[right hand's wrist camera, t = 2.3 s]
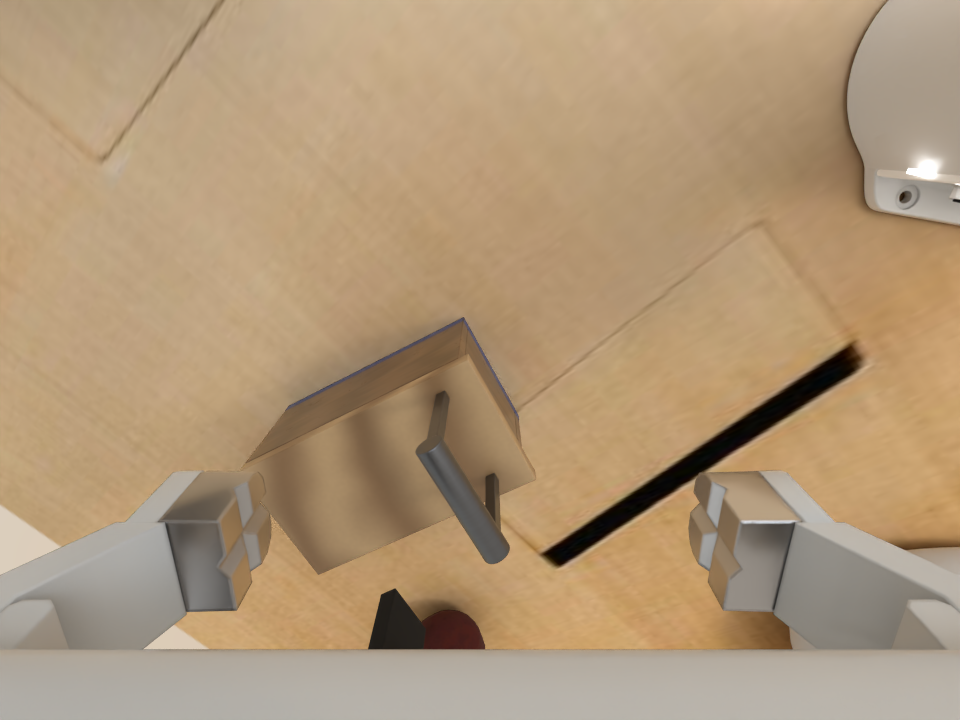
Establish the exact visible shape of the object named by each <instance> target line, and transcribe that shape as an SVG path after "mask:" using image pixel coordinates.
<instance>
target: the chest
mask: <svg viewBox="0 0 960 720" xmlns="http://www.w3.org/2000/svg"><path fill="white" fill-rule="evenodd" d="M466 354H469V356H470V357H471V359H472V361H473V363H474V364H475V366H476V368H477V370H478V371H479V373H480V375H481V377H482V378H483V380H484V382H485V384H486V386H487V387H488V389H489V391H490V393H491V394H492V396H493V398H494V400H495V401H496V403H497V405H498V407H499V408H500V410H501V412H502V414H503V415H504V417H505V419H506V421H507V422H508V424H509V426H510V428H511V430H512V431H513V433H514V435H515V437H516V438H517V440H518V442H519V444H520V445H521V436H520V428H519V416H518V414H517V412H516V410H515V408H514V407H513V405H512V403H511V401H510V399H509V398H508V396H507V394H506V392H505V390H504V389H503V387H502V385H501V383H500V381H499V380H498V378H497V376H496V374H495V372H494V371H493V369H492V367H491V365H490V364H489V362H488V360H487V358H486V356H485V355H484V353H483V351H482V349H481V347H480V346H479V344H478V342H477V340H476V338H475V337H474V335H473V333H472V331H471V329H470V328H469V326H468V324H467V322H466V321H465V319H464V317H463V318H461V319H459V320H457V321H455V322H453V323H451V324H449V325H447V326H445V327H444V328H442V329H440V330H438V331H436V332H434V333H432V334H430V335H428V336H426V337H424V338H422V339H420V340H418V341H416V342H414V343H412V344H410V345H408V346H406V347H404V348H402V349H400V350H398V351H396V352H394V353H392V354H390V355H388V356H386V357H384V358H382V359H380V360H378V361H376V362H375V363H373V364H371V365H369V366H367V367H365V368H363V369H361V370H359V371H357V372H355V373H353V374H351V375H349V376H347V377H345V378H343V379H341V380H339V381H337V382H335V383H333V384H331V385H329V386H327V387H325V388H323V389H321V390H319V391H317V392H315V393H313V394H311V395H309V396H308V397H306V398H304V399H302V400H300V401H298V402H296V403H294V404H292V405H290V406H288V408H287V409H286V410H285V412H284V414H283V415H282V416H281V418H280V419H279V420H278V421H277V423H276V424H275V425H274V427H273V428H272V429H271V431H270V432H269V433H268V434H267V436H266V437H265V438H264V440H263V441H262V442H261V444H260V445H259V446H258V447H257V449H256V450H255V451H254V453H253V454H252V455H251V457H250V458H249V459H248V460H247V462H246V463H248V462H250V461H252V460H254V459H256V458H258V457H260V456H262V455H264V454H266V453H268V452H270V451H272V450H274V449H276V448H278V447H280V446H282V445H284V444H286V443H288V442H290V441H292V440H294V439H296V438H298V437H300V436H302V435H304V434H306V433H308V432H310V431H312V430H315V429H317V428H319V427H321V426H323V425H325V424H327V423H329V422H331V421H333V420H335V419H337V418H339V417H341V416H343V415H345V414H347V413H349V412H351V411H353V410H355V409H357V408H359V407H361V406H363V405H365V404H367V403H369V402H371V401H373V400H375V399H377V398H379V397H381V396H383V395H385V394H387V393H389V392H392V391H394V390H396V389H398V388H400V387H402V386H404V385H406V384H408V383H410V382H412V381H414V380H416V379H418V378H420V377H422V376H424V375H426V374H428V373H430V372H432V371H434V370H436V369H438V368H440V367H442V366H444V365H446V364H448V363H450V362H452V361H454V360H456V359H458V358H460V357H462V356H464V355H466ZM521 447H522V445H521Z"/></svg>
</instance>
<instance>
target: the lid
mask: <svg viewBox="0 0 960 720" xmlns="http://www.w3.org/2000/svg"><path fill="white" fill-rule="evenodd" d="M240 472H259V473H260V474H261V475H262V476H263V478H264V483H265V488H266V494H265V495H264V497H263V499H262V500H261V502H262V504H263V505H264V506H265V507H266V509H267V510H268V511H269V512H270V514H271V515H272V516H273V518H274V519H275V520H276V521H277V523H278V524H279V525H280V526H281V528H282V529H283V530H284V532H285V533H286V534H287V535H288V537H289V538H290V539H291V540H292V542H293V543H294V544H295V546H296V547H297V548H298V549H299V551H300V552H301V553H302V554H303V556H304V557H305V558H306V560H307V561H308V562H309V563H310V565H311V566H312V567H313V568H314V570H315V571H316V572H317V574H318V575H319V574H321V573H324V572H326V571H328V570H330V569H333V568H335V567H337V566H340V565H342V564H344V563H346V562H349V561H351V560H353V559H356V558H358V557H360V556H362V555H365V554H367V553H369V552H372V551H374V550H376V549H378V548H381V547H383V546H385V545H388V544H390V543H392V542H394V541H397V540H399V539H401V538H404V537H406V536H408V535H410V534H413V533H415V532H417V531H420V530H422V529H424V528H426V527H429V526H431V525H433V524H436V523H438V522H440V521H442V520H445V519H447V518H449V517H452V516H454V515H456V517H457V518H458V520H459V522H460V523H461V525H462V526H463V528H464V529H465V531H466V532H467V534H468V535H469V537H470V539H471V540H472V542H473V543H474V545H475V546H476V548H477V549H478V551H479V552H480V554H481V555H482V557H483V559H484V560H485V562H487V563H488V564H495V563H498V562H500V561H502V560H503V559H504V558H505V557H506V556H507V555H508V553H509V550H510V546H509V544H508V542H507V541H506V539H505V537H504V536H503V534H502V533H501V524H500V497H499V496H500V495H502V494H504V493H506V492H509V491H511V490H513V489H516V488H518V487H520V486H522V485H525V484H527V483H529V482H532V481H534V480H536V475H535V470H534V468H533V466H532V465H531V463H530V461H529V459H528V458H527V456H526V454H525V452H524V451H523V449H522V447H521V445H520V444H519V442H518V440H517V438H516V437H515V435H514V433H513V431H512V430H511V428H510V426H509V424H508V422H507V421H506V419H505V417H504V415H503V414H502V412H501V410H500V408H499V407H498V405H497V403H496V401H495V400H494V398H493V396H492V394H491V393H490V391H489V389H488V387H487V386H486V384H485V382H484V380H483V378H482V377H481V375H480V373H479V371H478V370H477V368H476V366H475V364H474V363H473V361H472V359H471V357H470V356H469V354H466V355H464V356H462V357H460V358H458V359H456V360H454V361H452V362H450V363H448V364H446V365H444V366H442V367H440V368H438V369H436V370H434V371H432V372H430V373H428V374H426V375H424V376H422V377H420V378H418V379H416V380H414V381H412V382H410V383H408V384H406V385H404V386H402V387H400V388H398V389H396V390H394V391H392V392H389V393H387V394H385V395H383V396H381V397H379V398H377V399H375V400H373V401H371V402H369V403H367V404H365V405H363V406H361V407H359V408H357V409H355V410H353V411H351V412H349V413H347V414H345V415H343V416H341V417H339V418H337V419H335V420H333V421H331V422H329V423H327V424H325V425H323V426H321V427H319V428H317V429H315V430H312V431H310V432H308V433H306V434H304V435H302V436H300V437H298V438H296V439H294V440H292V441H290V442H288V443H286V444H284V445H282V446H280V447H278V448H276V449H274V450H272V451H270V452H268V453H266V454H264V455H262V456H260V457H258V458H256V459H254V460H252V461H250V462H248V463H246V464H244V466H243V467H242V468H241V470H240ZM484 502H485V505H484V504H483V503H484Z"/></svg>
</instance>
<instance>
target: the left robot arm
mask: <svg viewBox="0 0 960 720" xmlns="http://www.w3.org/2000/svg"><path fill="white" fill-rule="evenodd" d="M425 633H426V628H425V627H424V626H423V624H422V623H421V622H420V620H419V619H418V618H417V616H416V615H415V614H414V612H413V611H412V610H411V608H410V607H409V606H408V604H407V603H406V602H405V600H404V599H403V598H402V597H401V595H400V594H399V593H398V591H397V590H396V589H393V590H390V591H388V592H386V593H384V594H381V598H380V602H379V606H378V610H377V614H376V619H375V623H374V627H373V631H372V635H371V639H370V644H369V648H368V649H423V648H424V640H425Z"/></svg>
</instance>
